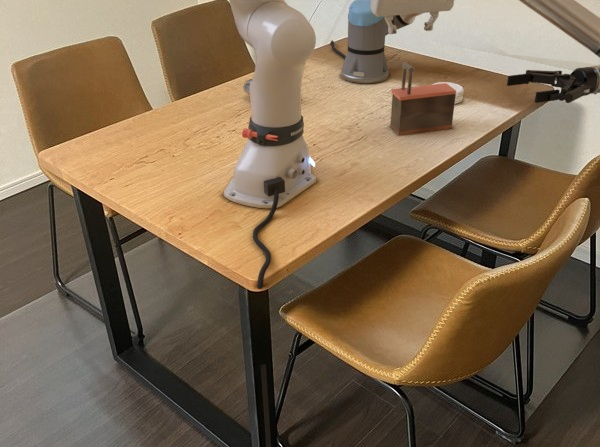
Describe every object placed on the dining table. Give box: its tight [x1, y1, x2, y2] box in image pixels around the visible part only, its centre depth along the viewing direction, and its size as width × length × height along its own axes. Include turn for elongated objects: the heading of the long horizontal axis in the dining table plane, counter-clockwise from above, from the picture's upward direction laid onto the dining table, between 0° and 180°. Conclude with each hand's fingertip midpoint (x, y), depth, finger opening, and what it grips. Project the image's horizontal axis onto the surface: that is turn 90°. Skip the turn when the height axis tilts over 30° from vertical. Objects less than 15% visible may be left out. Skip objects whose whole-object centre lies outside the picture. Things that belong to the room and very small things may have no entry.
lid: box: [390, 61, 456, 100], centre depth 158 cm, size 16×6×8 cm, turn 105°
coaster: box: [431, 81, 465, 105], centre depth 182 cm, size 10×10×4 cm
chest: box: [389, 93, 456, 136], centre depth 163 cm, size 15×6×10 cm, turn 105°
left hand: (410, 31), depth 151 cm, fingers open, 8 cm apart
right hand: (521, 88), depth 168 cm, fingers open, 13 cm apart
